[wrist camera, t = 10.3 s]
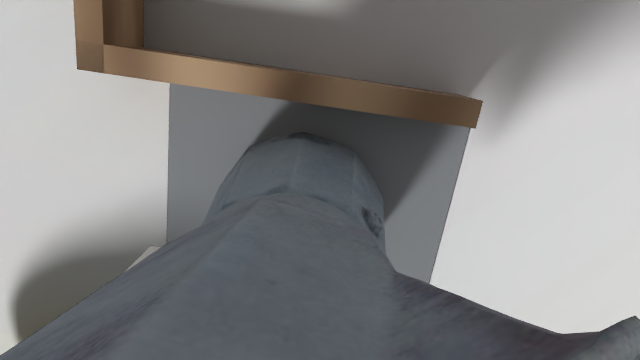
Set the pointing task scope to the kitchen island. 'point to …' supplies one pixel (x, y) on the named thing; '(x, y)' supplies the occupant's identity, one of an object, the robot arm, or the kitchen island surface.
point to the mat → (331, 123)
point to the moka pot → (296, 283)
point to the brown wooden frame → (245, 71)
